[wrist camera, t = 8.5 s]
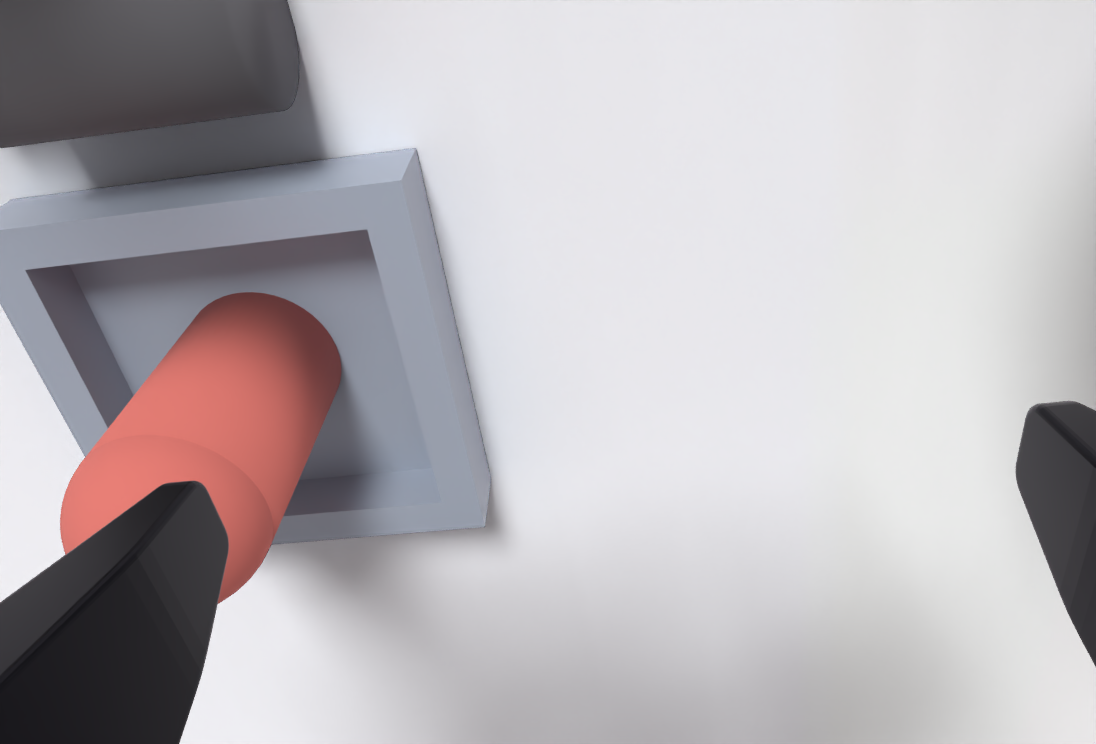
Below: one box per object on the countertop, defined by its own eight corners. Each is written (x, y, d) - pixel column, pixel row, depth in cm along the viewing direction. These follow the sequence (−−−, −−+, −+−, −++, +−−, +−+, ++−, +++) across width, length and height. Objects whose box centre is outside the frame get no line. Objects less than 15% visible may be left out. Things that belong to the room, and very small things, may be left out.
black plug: (244, -116, 17) (201, -25, 14) (308, 49, 19) (280, 146, 17) (-110, -60, 17) (-201, 35, 15) (0, 92, 20) (-63, 191, 18)
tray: (415, 147, 20) (401, 180, 18) (490, 479, 25) (485, 526, 24) (10, 199, 21) (-38, 234, 19) (167, 507, 26) (139, 555, 25)
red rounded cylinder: (321, 286, 21) (179, 538, 14) (356, 418, 24) (249, 701, 16) (165, 298, 22) (-58, 551, 14) (214, 428, 24) (42, 710, 16)
